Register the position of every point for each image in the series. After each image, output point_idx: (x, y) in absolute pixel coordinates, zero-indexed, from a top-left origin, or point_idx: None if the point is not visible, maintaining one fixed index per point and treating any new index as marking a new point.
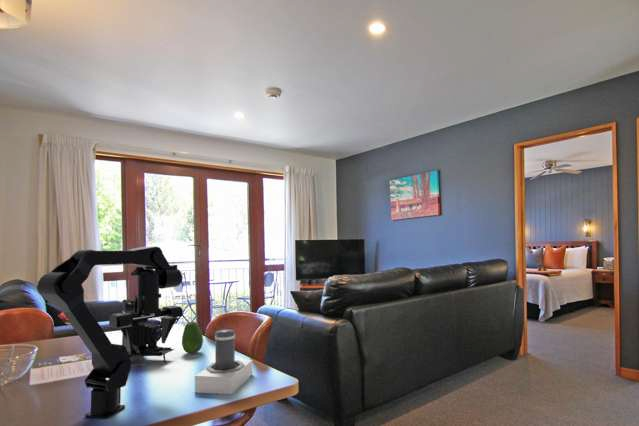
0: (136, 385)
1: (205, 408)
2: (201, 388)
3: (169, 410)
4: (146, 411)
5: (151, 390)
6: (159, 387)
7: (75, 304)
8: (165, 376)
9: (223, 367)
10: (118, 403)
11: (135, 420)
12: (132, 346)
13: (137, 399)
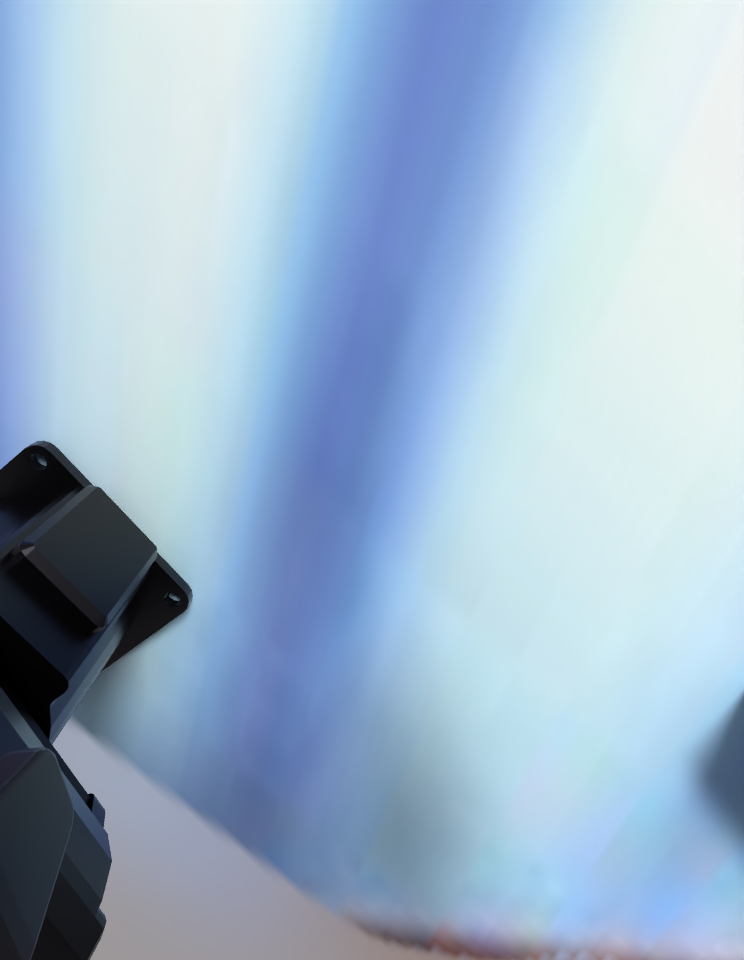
0: (432, 20)
1: (625, 954)
2: None
3: (439, 838)
4: (310, 753)
5: (498, 343)
6: (596, 314)
7: None
8: None
9: None
10: (125, 619)
11: (215, 827)
12: (30, 930)
13: (320, 483)
